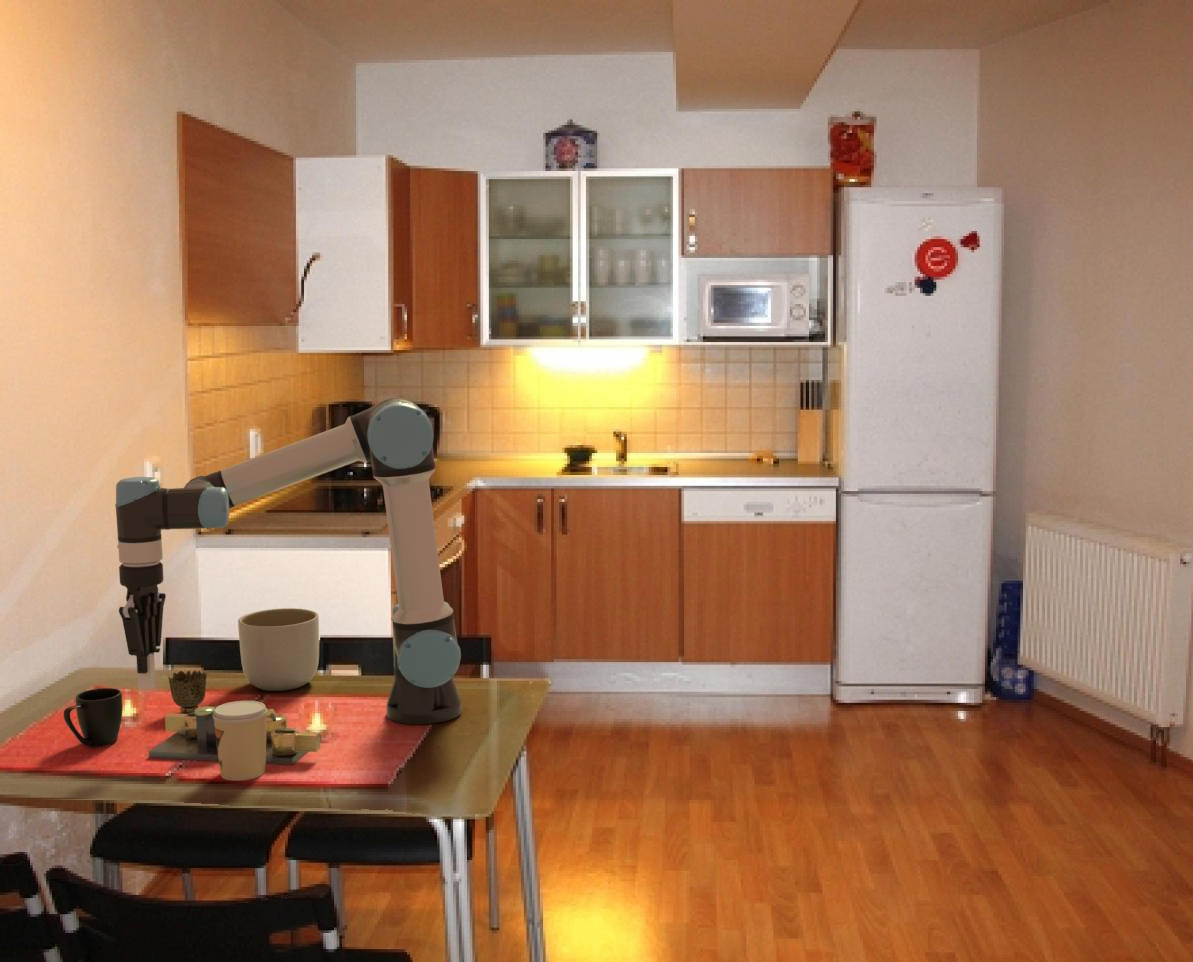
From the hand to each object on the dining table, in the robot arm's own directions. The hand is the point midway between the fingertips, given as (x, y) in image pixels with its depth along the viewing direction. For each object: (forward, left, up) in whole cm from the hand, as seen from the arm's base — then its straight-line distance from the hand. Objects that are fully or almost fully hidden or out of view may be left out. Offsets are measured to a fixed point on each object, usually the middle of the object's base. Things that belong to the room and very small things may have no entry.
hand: (146, 688), depth 241 cm
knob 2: (-19, -11, -11) cm, 25 cm away
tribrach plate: (-14, -6, -13) cm, 20 cm away
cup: (+5, -25, -13) cm, 29 cm away
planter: (-6, -46, -13) cm, 48 cm away
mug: (+14, -4, -13) cm, 20 cm away
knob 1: (-3, -9, -11) cm, 15 cm away
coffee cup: (-21, +6, -13) cm, 25 cm away
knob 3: (-27, -2, -11) cm, 30 cm away
